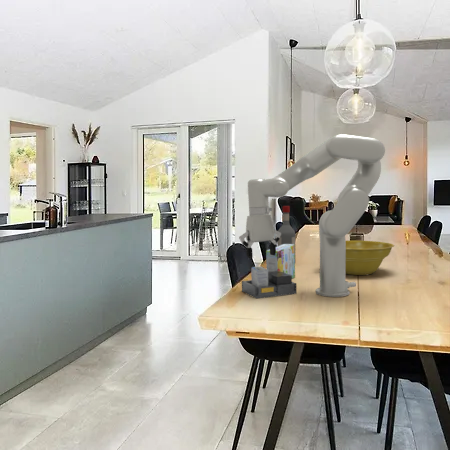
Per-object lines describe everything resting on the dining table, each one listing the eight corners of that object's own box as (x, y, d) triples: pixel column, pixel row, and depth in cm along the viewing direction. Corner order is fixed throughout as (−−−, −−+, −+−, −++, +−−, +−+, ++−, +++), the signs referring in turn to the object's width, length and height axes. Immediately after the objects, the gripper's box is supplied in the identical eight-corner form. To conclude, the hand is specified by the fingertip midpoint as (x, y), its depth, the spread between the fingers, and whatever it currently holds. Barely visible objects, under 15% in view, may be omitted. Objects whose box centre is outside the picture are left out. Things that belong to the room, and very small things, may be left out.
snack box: (283, 276, 212) (283, 243, 211) (295, 277, 209) (295, 244, 208) (265, 286, 193) (265, 249, 192) (278, 287, 191) (278, 250, 189)
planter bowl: (321, 265, 237) (321, 239, 236) (388, 267, 230) (389, 240, 229) (321, 278, 206) (321, 248, 204) (399, 280, 199) (399, 249, 198)
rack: (279, 286, 191) (279, 269, 190) (296, 293, 179) (296, 275, 178) (241, 291, 184) (241, 273, 184) (256, 298, 172) (256, 280, 172)
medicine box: (268, 292, 177) (268, 269, 176) (257, 293, 176) (257, 270, 175) (262, 287, 184) (261, 266, 184) (251, 288, 183) (251, 266, 183)
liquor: (294, 262, 249) (294, 205, 246) (295, 265, 240) (295, 206, 237) (277, 262, 250) (277, 205, 247) (277, 265, 241) (277, 206, 238)
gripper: (274, 209, 184) (276, 252, 186) (234, 213, 178) (236, 257, 179) (284, 210, 177) (286, 255, 179) (242, 214, 171) (245, 260, 172)
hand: (261, 256), depth 179 cm, fingers open, 9 cm apart
